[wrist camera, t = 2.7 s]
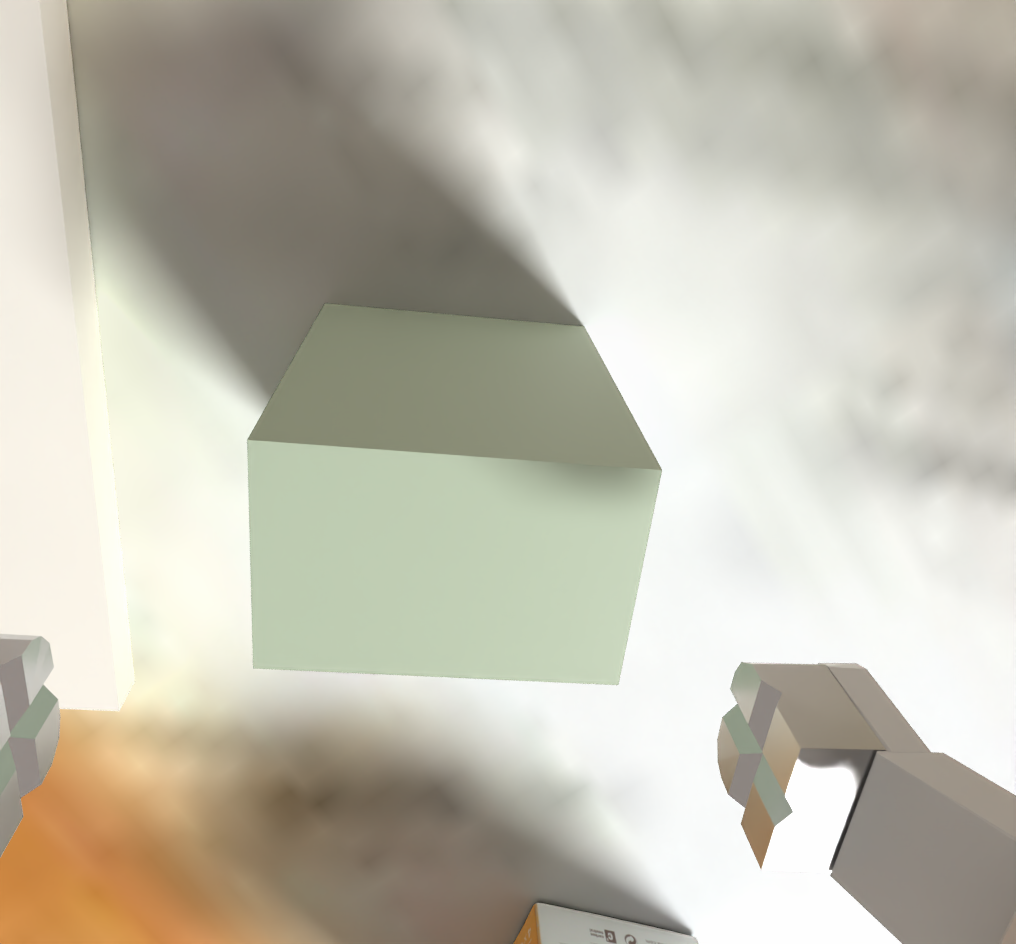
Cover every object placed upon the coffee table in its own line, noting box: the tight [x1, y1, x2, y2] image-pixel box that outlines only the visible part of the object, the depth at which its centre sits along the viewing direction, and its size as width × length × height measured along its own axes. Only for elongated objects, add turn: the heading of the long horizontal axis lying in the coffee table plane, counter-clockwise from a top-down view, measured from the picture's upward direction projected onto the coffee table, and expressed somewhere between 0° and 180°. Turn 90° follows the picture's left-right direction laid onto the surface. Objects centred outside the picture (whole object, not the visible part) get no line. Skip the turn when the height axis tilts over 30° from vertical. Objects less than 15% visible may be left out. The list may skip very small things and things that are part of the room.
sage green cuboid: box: [247, 303, 662, 685], centre depth 16 cm, size 6×4×8 cm, turn 84°
